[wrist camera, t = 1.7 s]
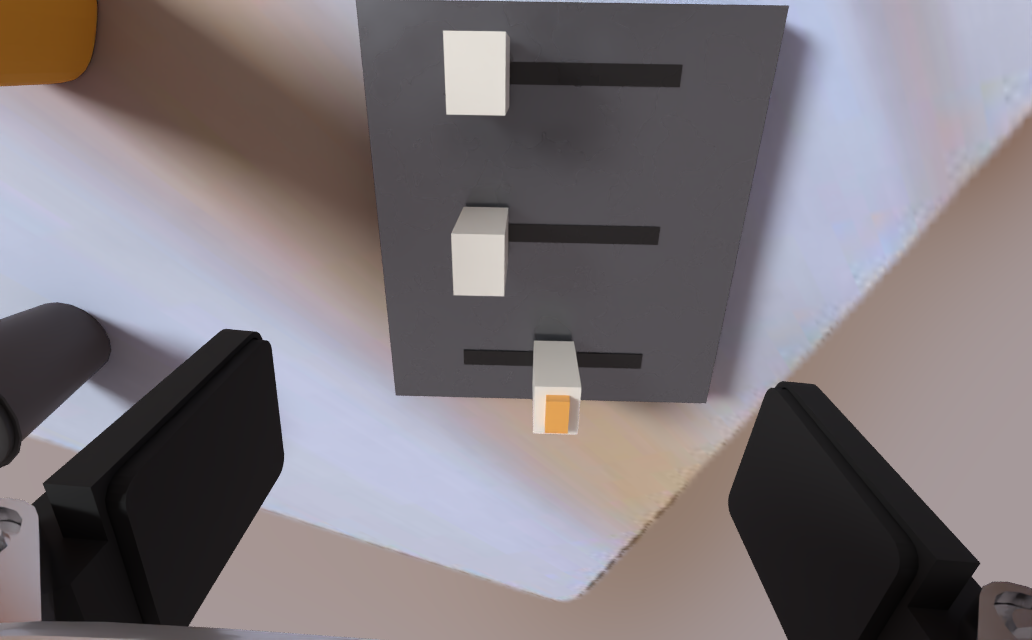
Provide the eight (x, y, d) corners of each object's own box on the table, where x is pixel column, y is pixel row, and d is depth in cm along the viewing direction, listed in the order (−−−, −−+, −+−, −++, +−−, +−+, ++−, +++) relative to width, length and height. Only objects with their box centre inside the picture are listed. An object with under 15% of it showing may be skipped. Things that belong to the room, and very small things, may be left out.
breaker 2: (508, 207, 28) (504, 235, 24) (508, 260, 29) (504, 296, 25) (463, 206, 28) (451, 233, 24) (465, 259, 29) (453, 295, 25)
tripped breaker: (573, 341, 31) (582, 394, 26) (570, 383, 33) (578, 441, 28) (533, 340, 32) (534, 392, 26) (532, 382, 33) (533, 440, 28)
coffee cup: (-19, 299, 35) (-209, 379, 26) (85, 270, 34) (-75, 344, 25) (57, 397, 38) (-88, 499, 29) (154, 374, 37) (35, 472, 28)
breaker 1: (509, 37, 25) (505, 31, 20) (509, 106, 26) (505, 115, 21) (458, 36, 25) (443, 30, 20) (460, 105, 26) (446, 114, 21)
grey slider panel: (762, 11, 27) (789, 5, 24) (692, 378, 36) (706, 404, 34) (372, 5, 27) (354, -2, 24) (405, 371, 37) (395, 396, 34)
